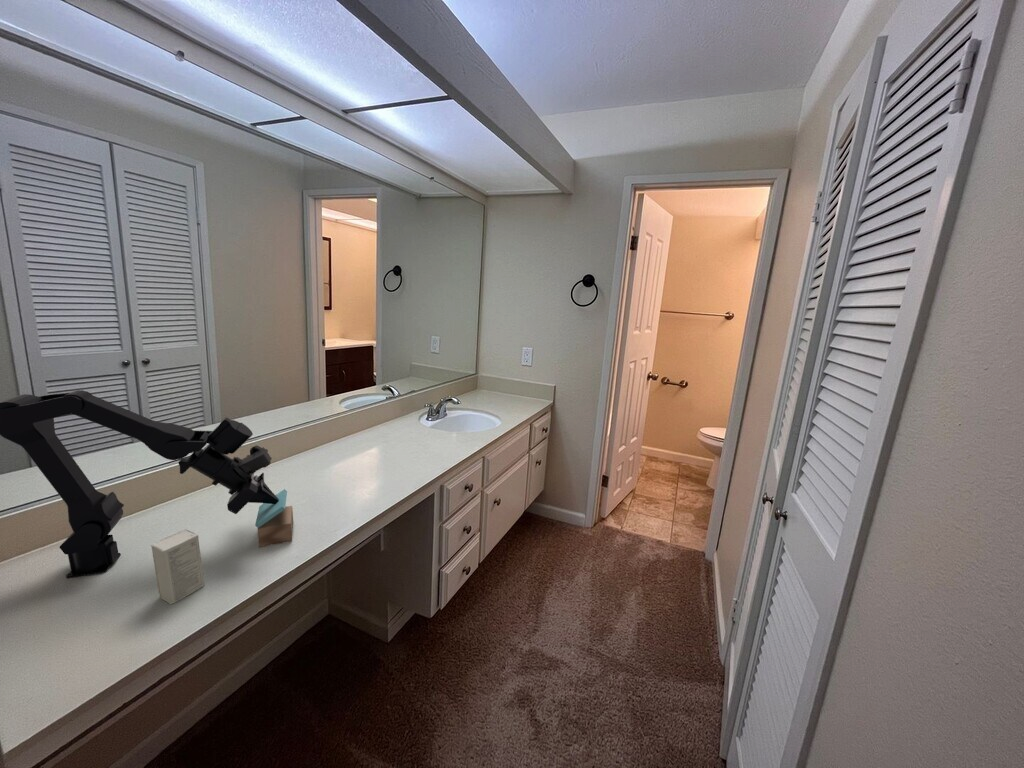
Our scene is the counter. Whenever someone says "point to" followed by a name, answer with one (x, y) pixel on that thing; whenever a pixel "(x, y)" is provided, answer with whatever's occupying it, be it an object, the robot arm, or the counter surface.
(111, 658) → the counter surface
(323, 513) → the counter surface
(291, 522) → the case
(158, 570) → the skincare box
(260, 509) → the lid
